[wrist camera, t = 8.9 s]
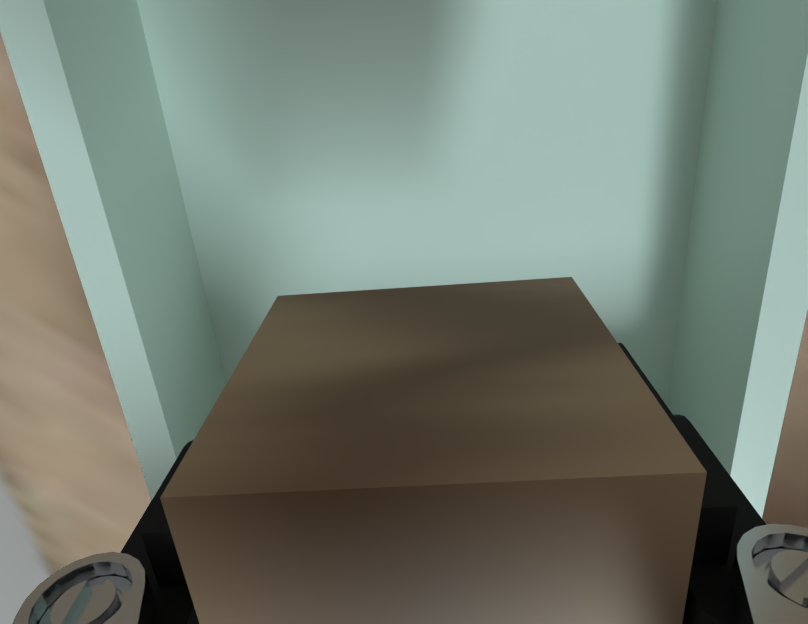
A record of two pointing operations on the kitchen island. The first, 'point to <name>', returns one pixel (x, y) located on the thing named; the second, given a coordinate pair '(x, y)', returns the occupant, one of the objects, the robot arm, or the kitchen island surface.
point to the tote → (431, 180)
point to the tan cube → (437, 468)
